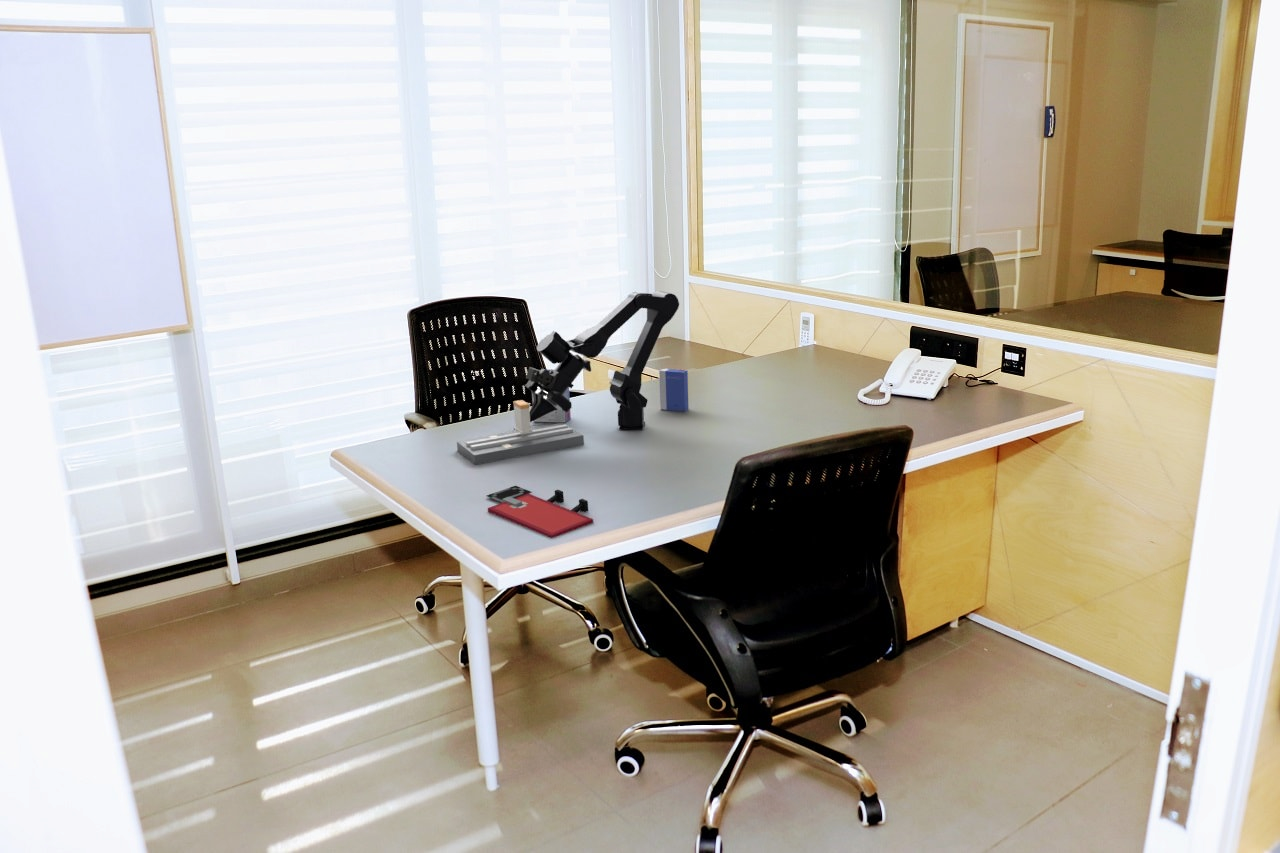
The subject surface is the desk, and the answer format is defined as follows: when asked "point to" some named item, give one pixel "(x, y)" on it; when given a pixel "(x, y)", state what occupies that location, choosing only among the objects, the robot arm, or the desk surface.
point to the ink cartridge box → (556, 412)
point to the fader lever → (522, 417)
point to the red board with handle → (539, 511)
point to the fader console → (519, 443)
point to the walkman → (674, 389)
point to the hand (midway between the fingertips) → (528, 421)
